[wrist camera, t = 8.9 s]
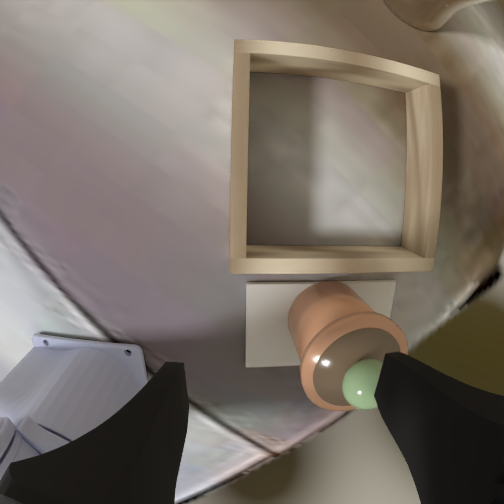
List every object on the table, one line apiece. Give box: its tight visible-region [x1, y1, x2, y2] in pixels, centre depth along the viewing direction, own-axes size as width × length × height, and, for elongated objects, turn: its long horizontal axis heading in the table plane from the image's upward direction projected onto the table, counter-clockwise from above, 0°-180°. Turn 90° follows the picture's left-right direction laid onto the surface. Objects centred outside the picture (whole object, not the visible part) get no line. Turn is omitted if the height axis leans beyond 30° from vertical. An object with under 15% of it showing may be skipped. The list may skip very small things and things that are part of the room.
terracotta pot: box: [287, 281, 408, 411], centre depth 15 cm, size 6×6×8 cm
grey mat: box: [245, 280, 396, 367], centre depth 20 cm, size 10×6×1 cm, turn 89°
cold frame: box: [230, 40, 443, 274], centre depth 16 cm, size 12×12×3 cm
